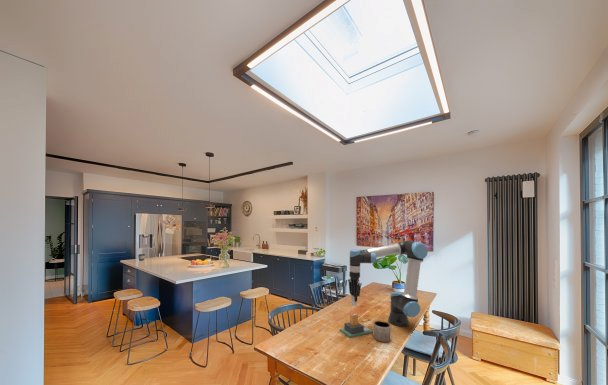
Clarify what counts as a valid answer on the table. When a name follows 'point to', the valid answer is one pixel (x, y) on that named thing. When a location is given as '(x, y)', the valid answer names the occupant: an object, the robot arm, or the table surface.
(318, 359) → the table surface
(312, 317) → the table surface
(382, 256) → the robot arm
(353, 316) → the plug
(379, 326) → the planter
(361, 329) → the board
